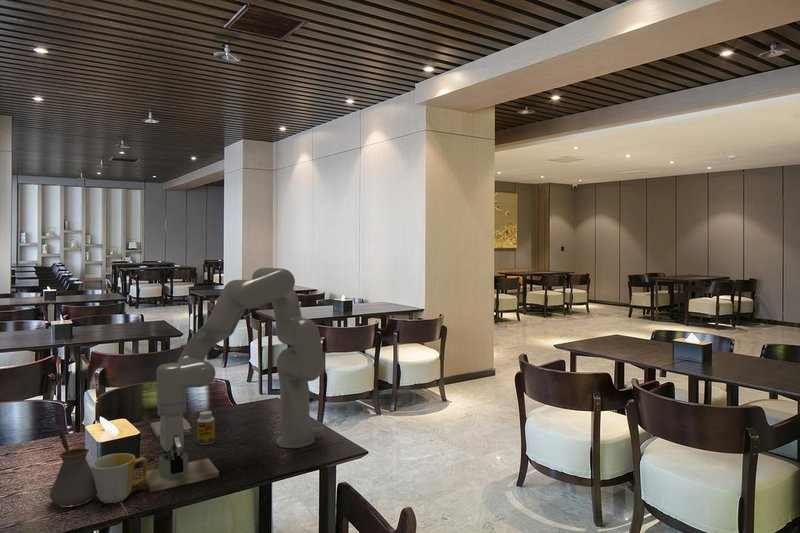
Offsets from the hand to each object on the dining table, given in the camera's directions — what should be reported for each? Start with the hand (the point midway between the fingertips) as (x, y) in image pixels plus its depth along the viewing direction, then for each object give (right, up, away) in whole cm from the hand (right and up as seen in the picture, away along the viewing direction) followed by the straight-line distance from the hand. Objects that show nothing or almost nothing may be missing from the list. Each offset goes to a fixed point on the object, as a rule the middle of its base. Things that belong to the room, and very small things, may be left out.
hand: (173, 466), depth 162 cm
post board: (+2, -3, +1) cm, 4 cm away
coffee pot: (-24, -4, -10) cm, 26 cm away
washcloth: (-18, -3, +42) cm, 45 cm away
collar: (0, -2, 0) cm, 2 cm away
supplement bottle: (-1, -2, +29) cm, 29 cm away
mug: (-9, -4, -12) cm, 15 cm away
